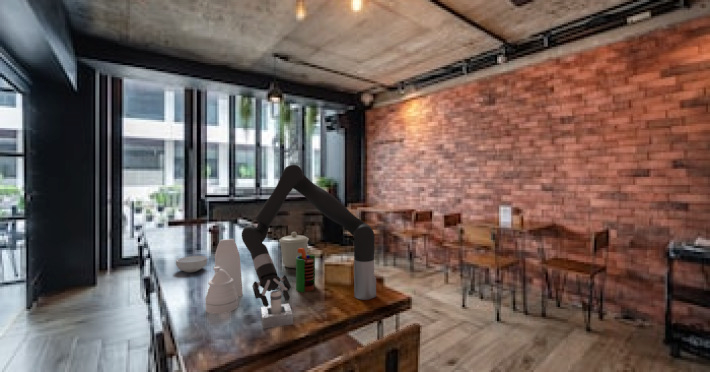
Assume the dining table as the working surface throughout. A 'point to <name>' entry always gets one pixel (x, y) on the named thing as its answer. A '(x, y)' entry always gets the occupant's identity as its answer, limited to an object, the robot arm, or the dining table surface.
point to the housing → (276, 316)
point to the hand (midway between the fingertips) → (277, 303)
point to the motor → (305, 271)
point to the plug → (275, 302)
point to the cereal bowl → (191, 263)
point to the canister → (292, 248)
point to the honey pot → (221, 293)
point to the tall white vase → (230, 262)
